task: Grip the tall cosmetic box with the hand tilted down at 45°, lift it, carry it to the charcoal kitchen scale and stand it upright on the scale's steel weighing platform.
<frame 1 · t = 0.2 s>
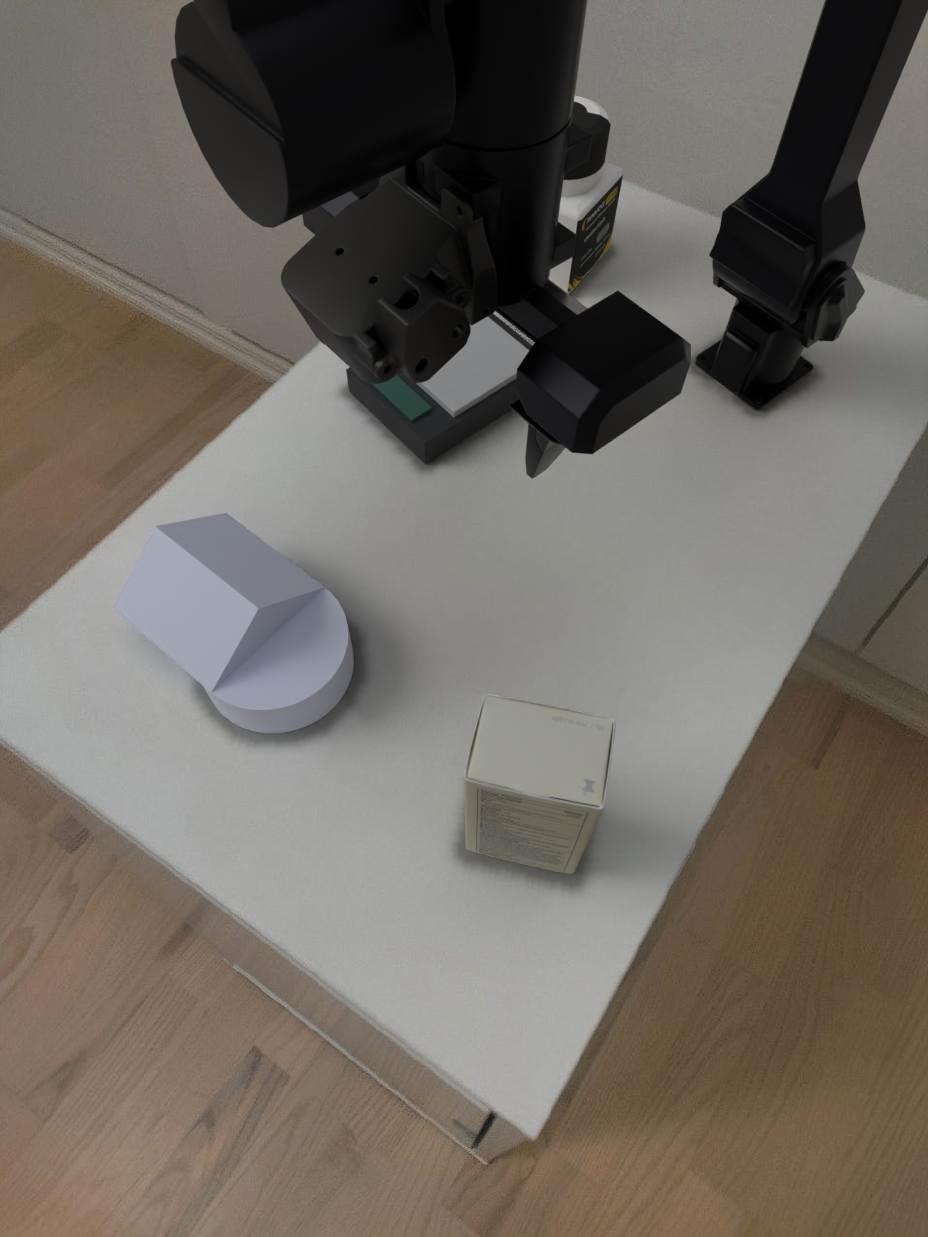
hand: (474, 417, 44), 14 cm above the table, tool pointing down, fingers open, 9 cm apart
cosmetic box: (523, 828, 48), on the table
medicine bottle: (552, 258, 72), on the table
wedge on round base: (257, 647, 54), on the table
kitchen scale: (450, 387, 64), on the table
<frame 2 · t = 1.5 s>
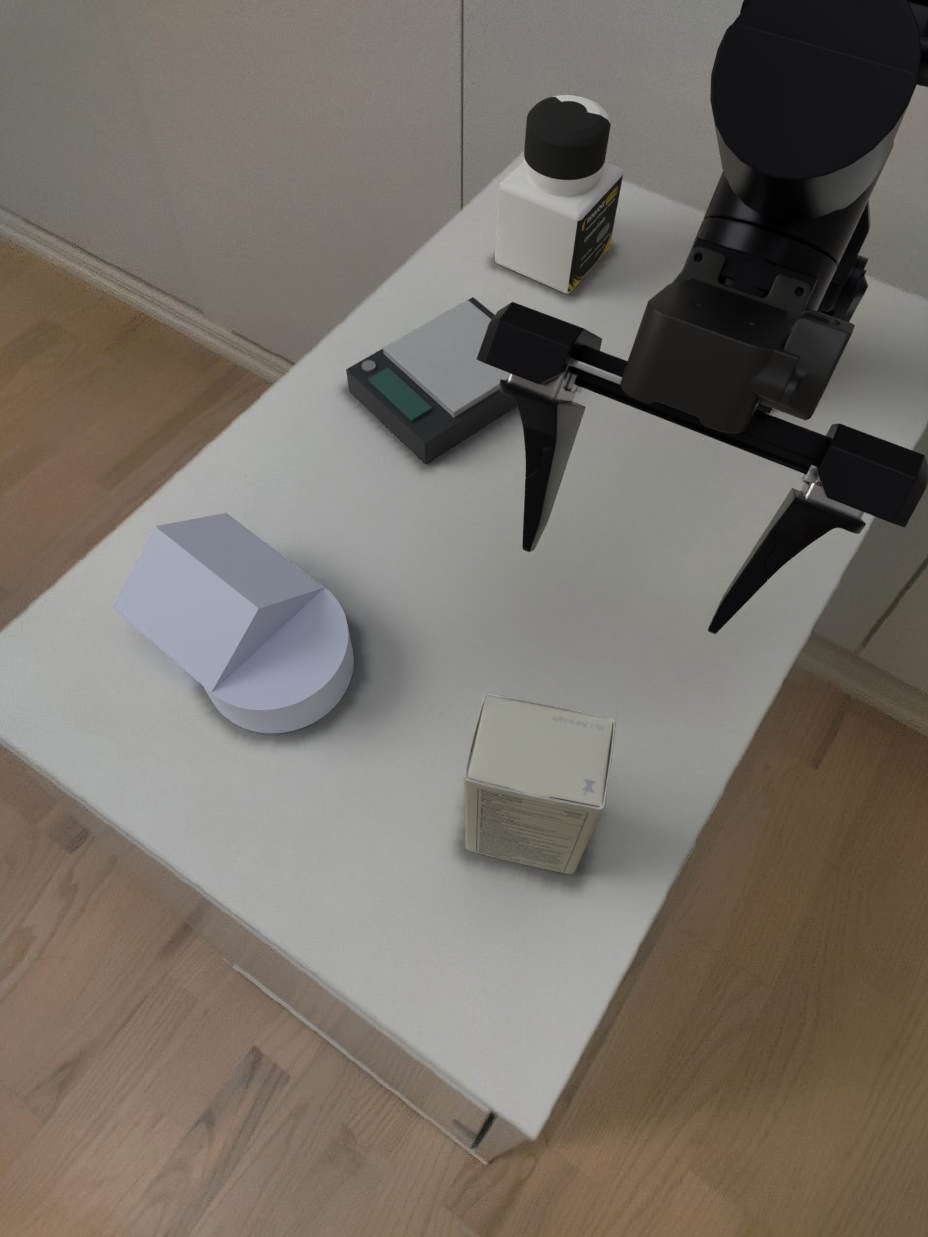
hand: (617, 589, 40), 13 cm above the table, tool tilted 45°, fingers open, 9 cm apart
nothing on the table moved.
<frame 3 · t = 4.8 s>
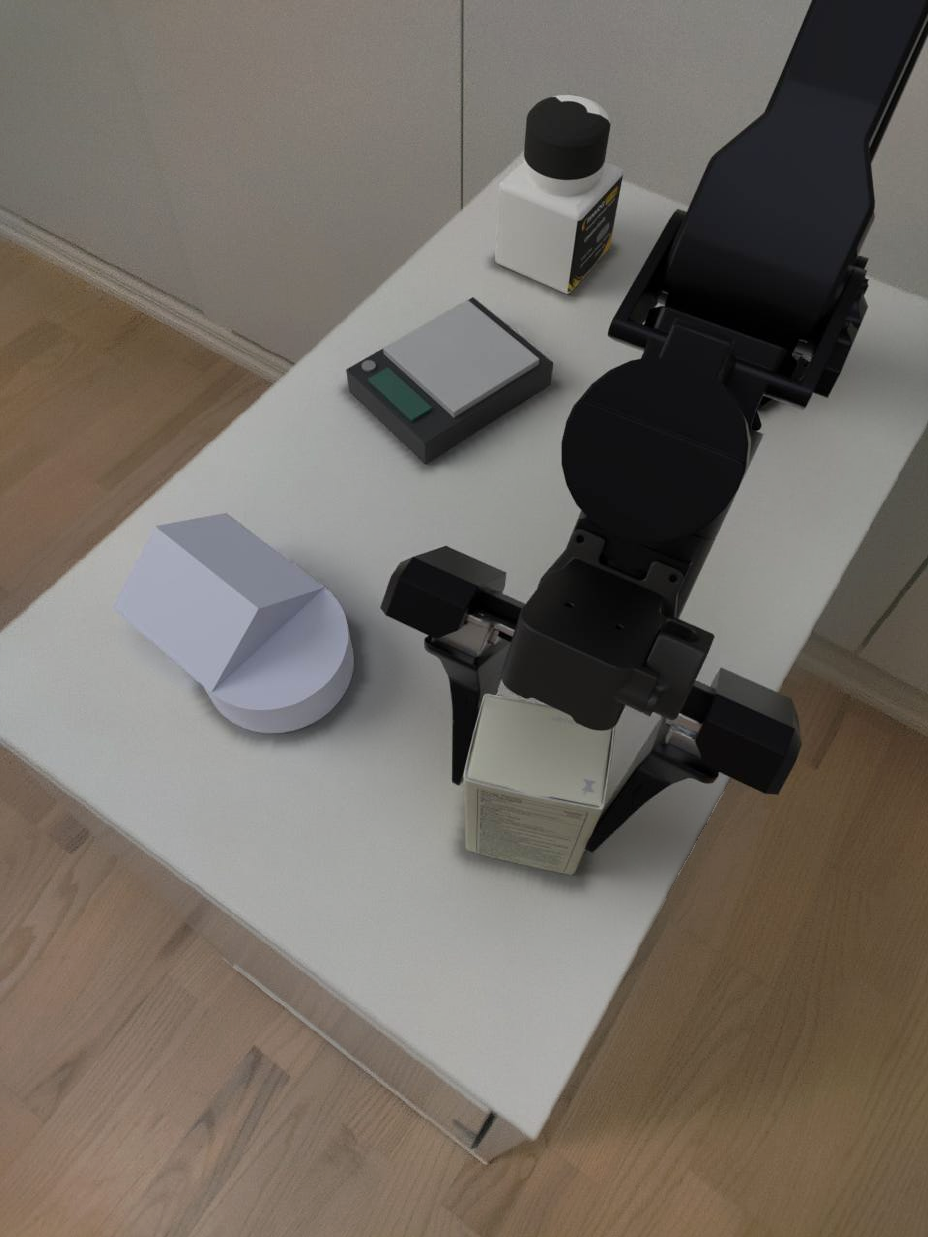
hand: (522, 814, 42), 7 cm above the table, tool tilted 45°, fingers closed on cosmetic box, 7 cm apart
cosmetic box: (523, 829, 48), on the table, touching gripper
everything else where it was.
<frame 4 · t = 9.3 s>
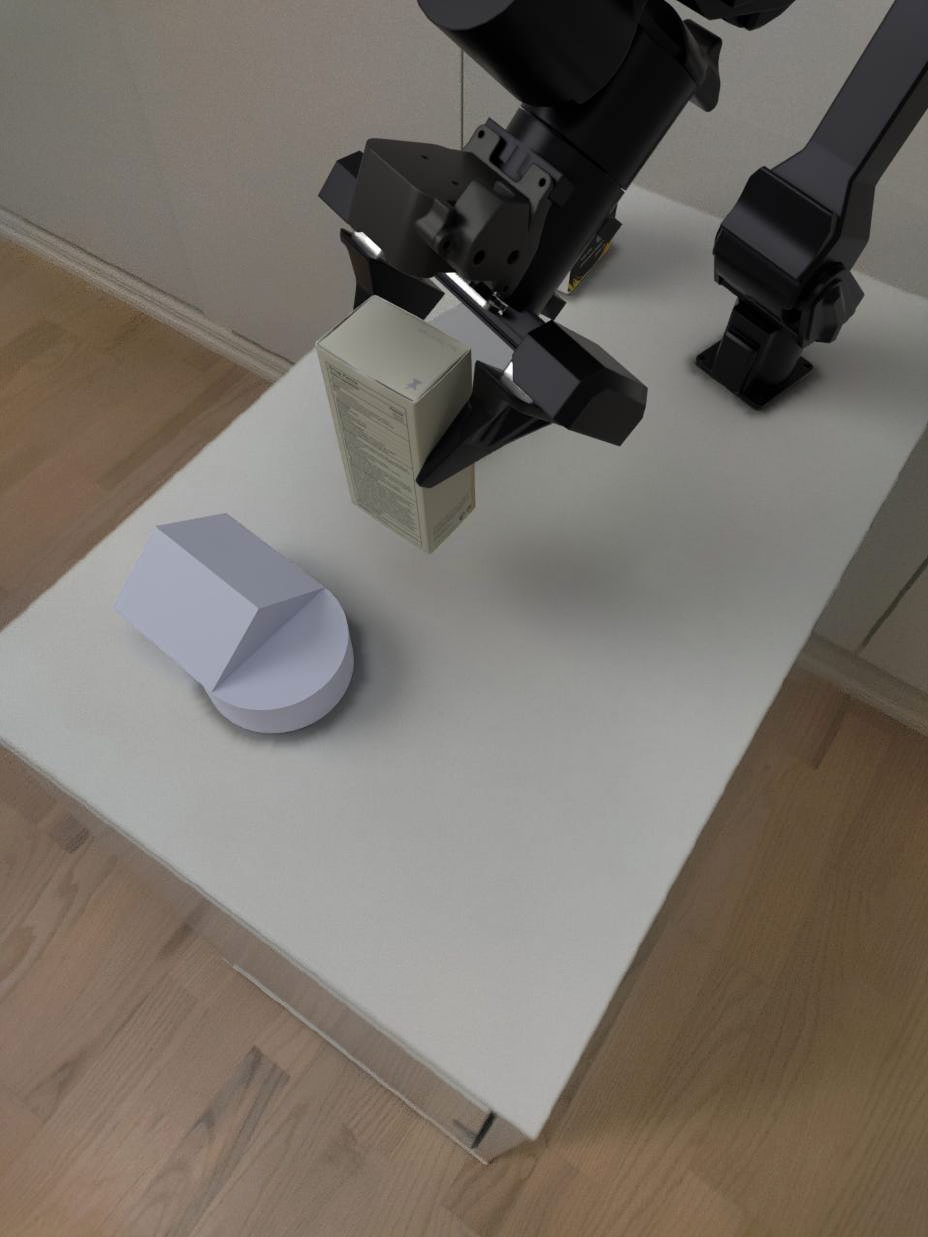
hand: (381, 440, 44), 14 cm above the table, tool tilted 45°, fingers closed on cosmetic box, 7 cm apart
cosmetic box: (410, 508, 50), point 7 cm above the table, touching gripper
everything else where it was.
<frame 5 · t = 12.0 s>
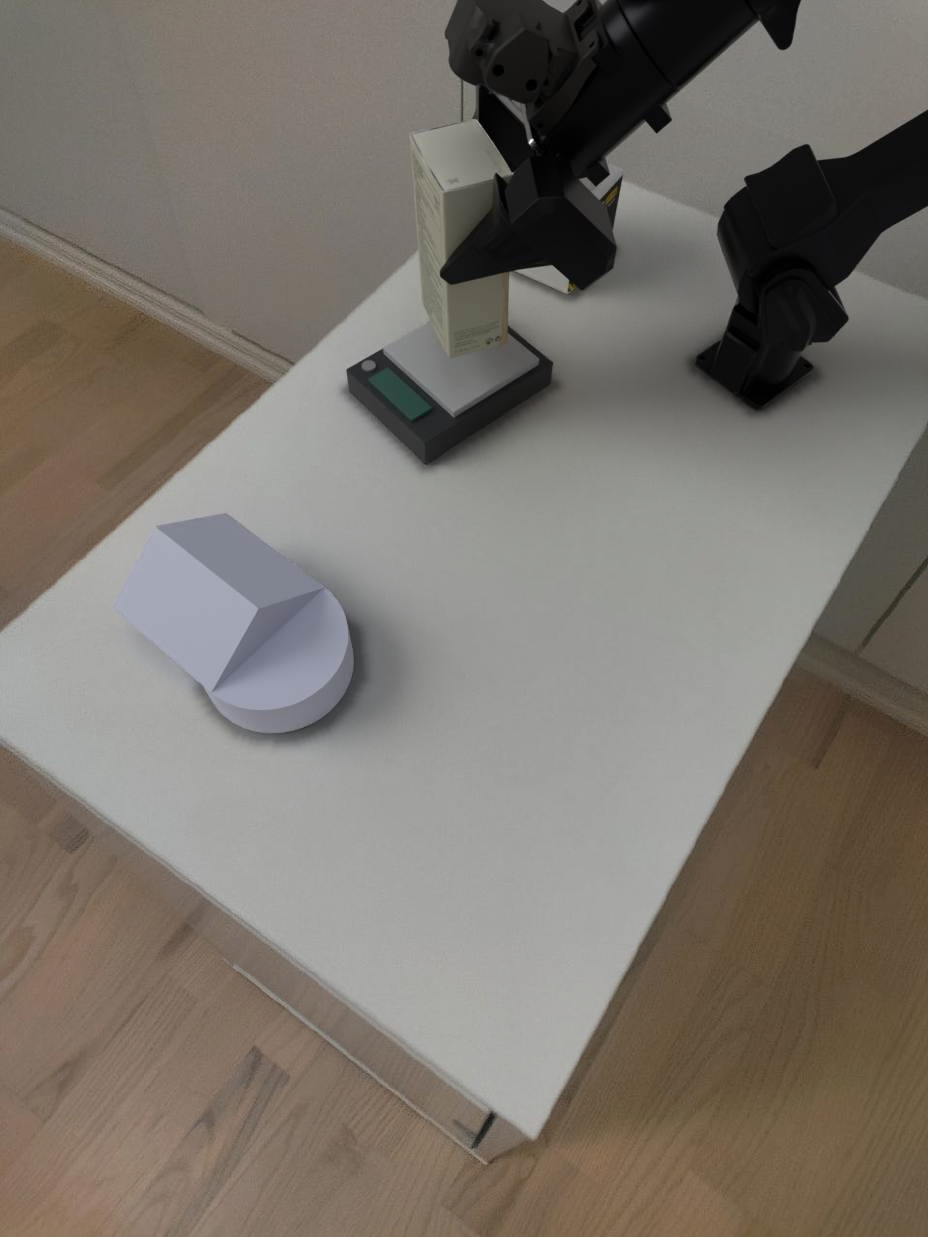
hand: (440, 240, 54), 12 cm above the table, tool tilted 45°, fingers closed on cosmetic box, 7 cm apart
cosmetic box: (461, 325, 60), point 6 cm above the table, touching gripper
everything else where it was.
when the fingers open (9 cm above the table, at t = 14.1 s): cosmetic box stays where it is, resting on kitchen scale.
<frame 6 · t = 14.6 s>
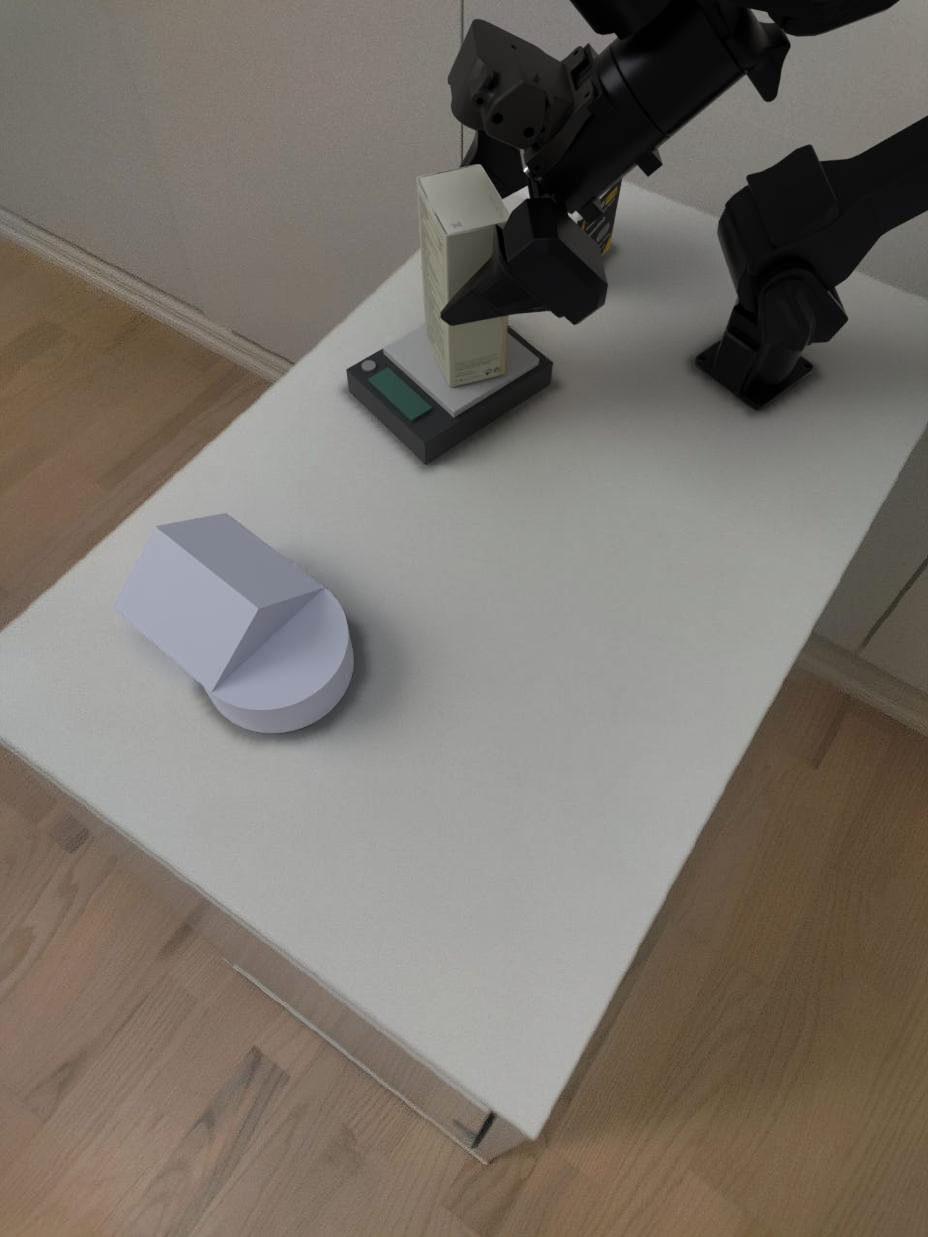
hand: (440, 270, 56), 10 cm above the table, tool tilted 45°, fingers open, 9 cm apart
cosmetic box: (462, 354, 63), point 3 cm above the table, touching kitchen scale
everything else where it was.
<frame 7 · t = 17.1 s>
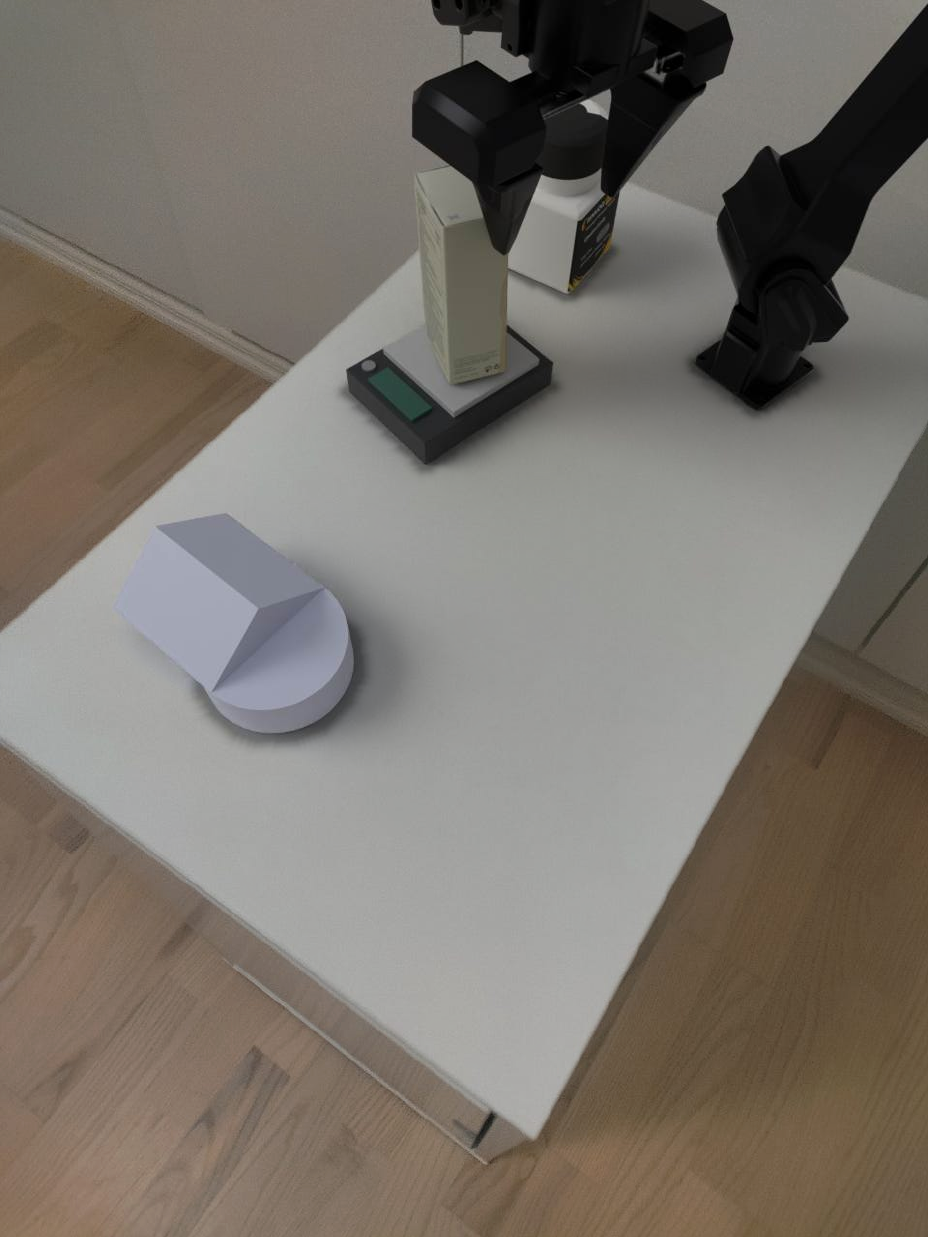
hand: (555, 221, 53), 13 cm above the table, tool pointing down, fingers open, 9 cm apart
cosmetic box: (462, 353, 62), point 3 cm above the table, touching gripper, kitchen scale
everything else where it was.
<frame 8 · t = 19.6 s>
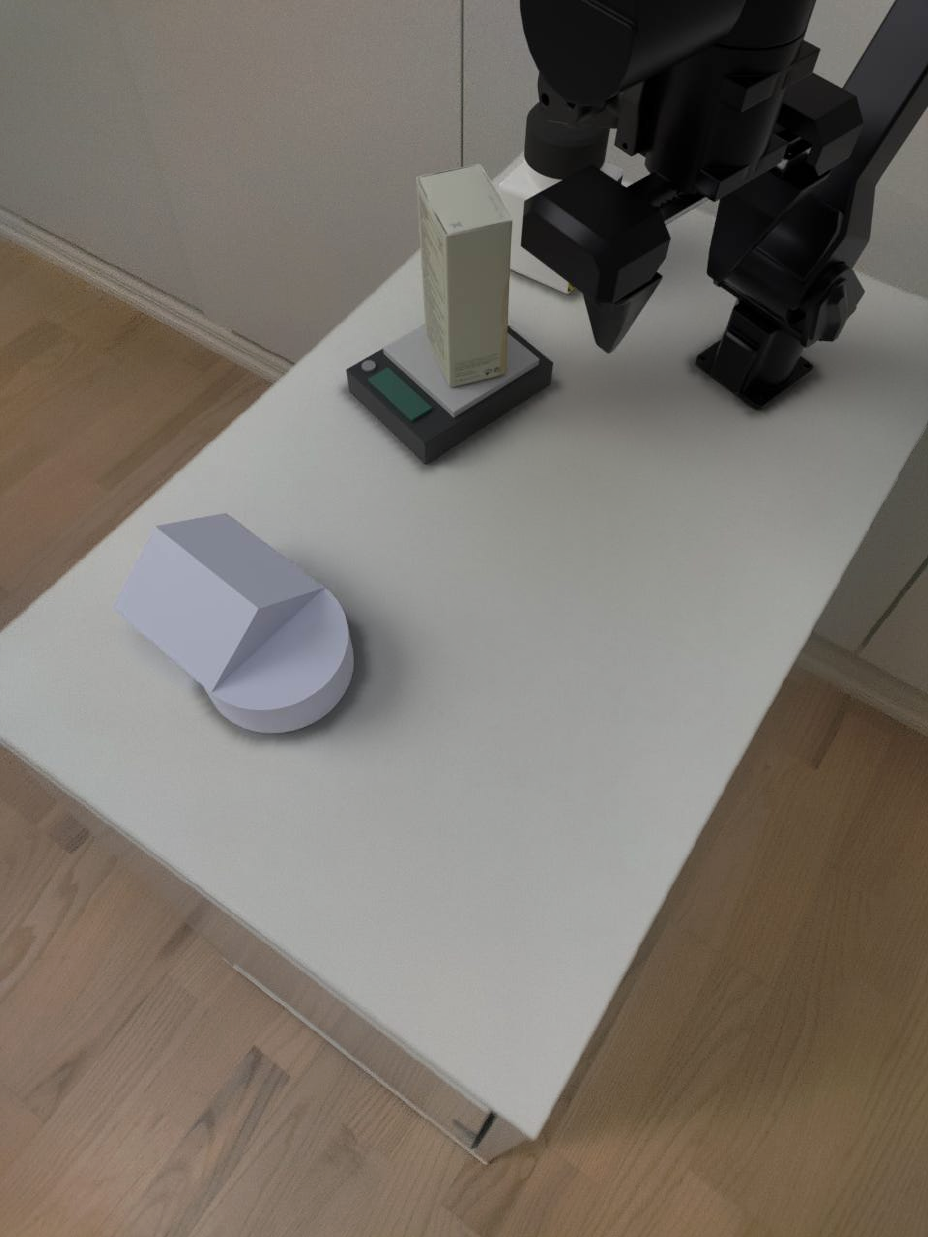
hand: (661, 311, 50), 13 cm above the table, tool pointing down, fingers open, 9 cm apart
cosmetic box: (462, 354, 63), point 3 cm above the table, touching kitchen scale
everything else where it was.
at the end: cosmetic box inside the target area on the kitchen scale (0.1 cm from its centre), point 2.6 cm above the kitchen scale's base; cosmetic box tilted 0°; the gripper is holding nothing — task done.
